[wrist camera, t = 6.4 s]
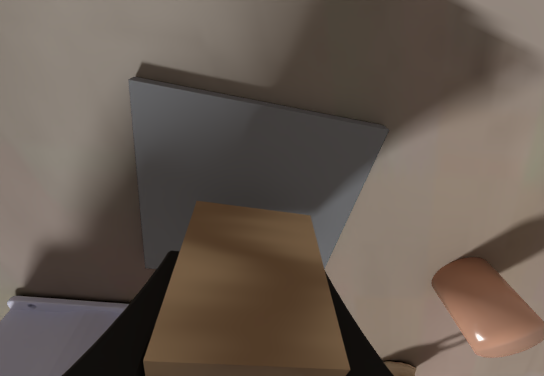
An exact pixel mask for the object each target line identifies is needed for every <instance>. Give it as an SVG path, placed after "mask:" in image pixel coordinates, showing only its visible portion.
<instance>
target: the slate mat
mask: <svg viewBox="0 0 544 376" xmlns="http://www.w3.org/2000/svg"><path fill="white" fill-rule="evenodd" d="M129 91H130V102H131V113H132V124H133V136H134V147H135V158H136V169H137V180H138V192H139V203H140V214H141V225H142V236H143V248H144V259H145V268H149V269H157V268H158V267H159V265H160V264H161V262H162V261H163V259H164V258H165V256H166V255H167V253H168V252H169V251H171V250H172V251H180V249H181V246H182V243H183V240H184V237H185V234H186V231H187V228H188V225H189V222H190V219H191V216H192V213H193V210H194V207H195V204H196V201H203V202H211V203H219V204H226V205H234V206H242V207H250V208H257V209H265V210H273V211H280V212H288V213H296V214H303V215H310V216H311V220H312V224H313V228H314V231H315V235H316V239H317V243H318V247H319V251H320V255H321V258H322V262H323V266H324V269H325V266H326V264H327V262H328V260H329V258H330V256H331V254H332V251H333V249H334V247H335V245H336V243H337V241H338V239H339V236H340V234H341V232H342V230H343V228H344V226H345V224H346V221H347V219H348V217H349V215H350V213H351V211H352V209H353V207H354V204H355V202H356V200H357V198H358V196H359V194H360V192H361V189H362V187H363V185H364V183H365V181H366V179H367V177H368V174H369V172H370V170H371V168H372V166H373V164H374V162H375V159H376V157H377V155H378V153H379V151H380V149H381V147H382V145H383V142H384V140H385V138H386V136H387V134H388V132H389V129H388V128H386V127H385V126H384V125H380V124H374V123H369V122H364V121H359V120H354V119H349V118H344V117H339V116H334V115H328V114H323V113H318V112H313V111H308V110H303V109H298V108H293V107H287V106H282V105H277V104H272V103H267V102H262V101H257V100H252V99H247V98H241V97H236V96H231V95H226V94H221V93H216V92H211V91H206V90H200V89H195V88H190V87H185V86H180V85H175V84H170V83H165V82H160V81H154V80H149V79H144V78H139V77H133V78H131V79H129Z"/></svg>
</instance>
